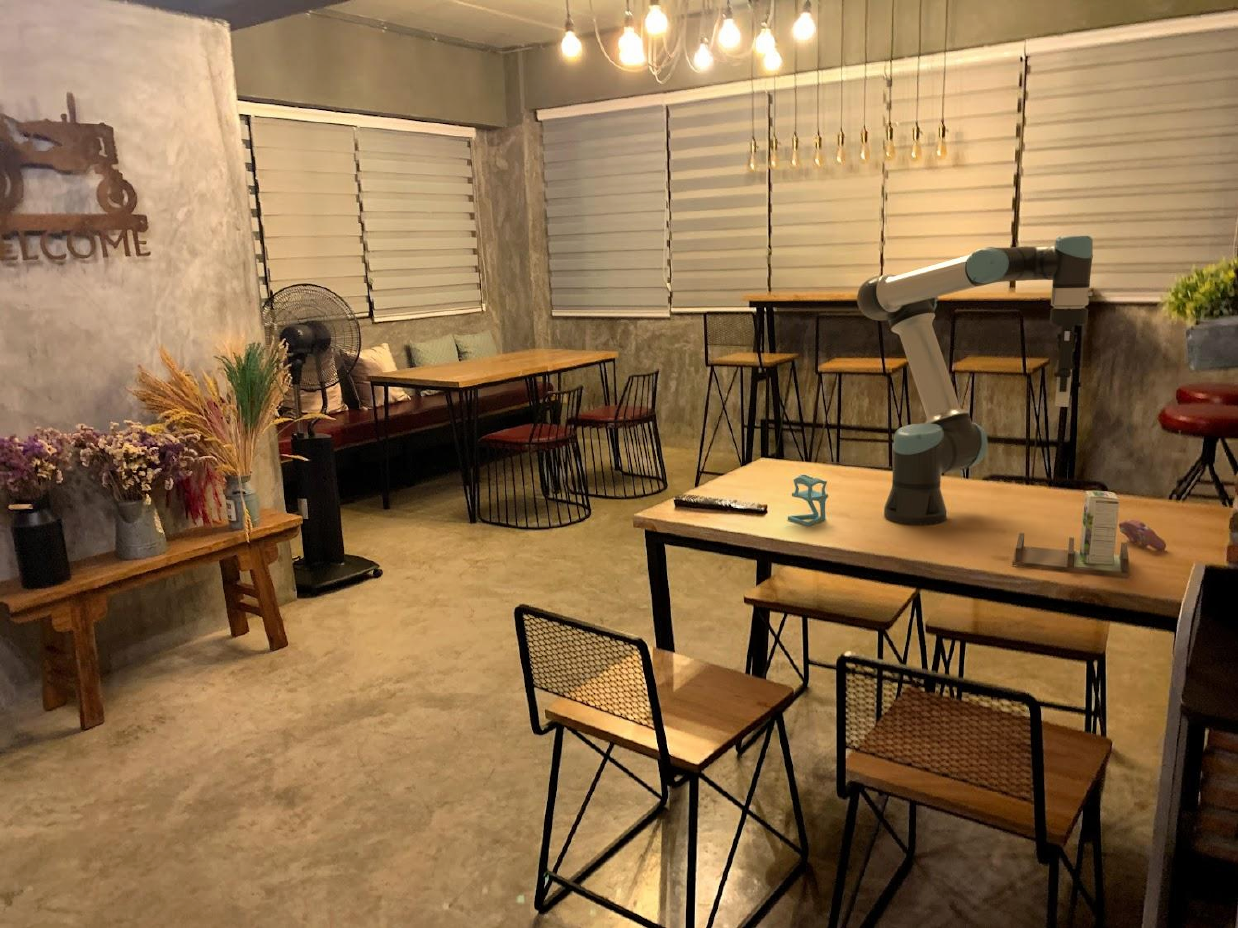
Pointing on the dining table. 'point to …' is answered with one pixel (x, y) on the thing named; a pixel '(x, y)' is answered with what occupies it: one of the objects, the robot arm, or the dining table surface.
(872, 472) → the dining table surface
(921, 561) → the dining table surface
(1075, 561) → the slot rack
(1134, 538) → the video game controller
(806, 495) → the chair
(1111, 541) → the syrup box
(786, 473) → the dining table surface
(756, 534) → the dining table surface
